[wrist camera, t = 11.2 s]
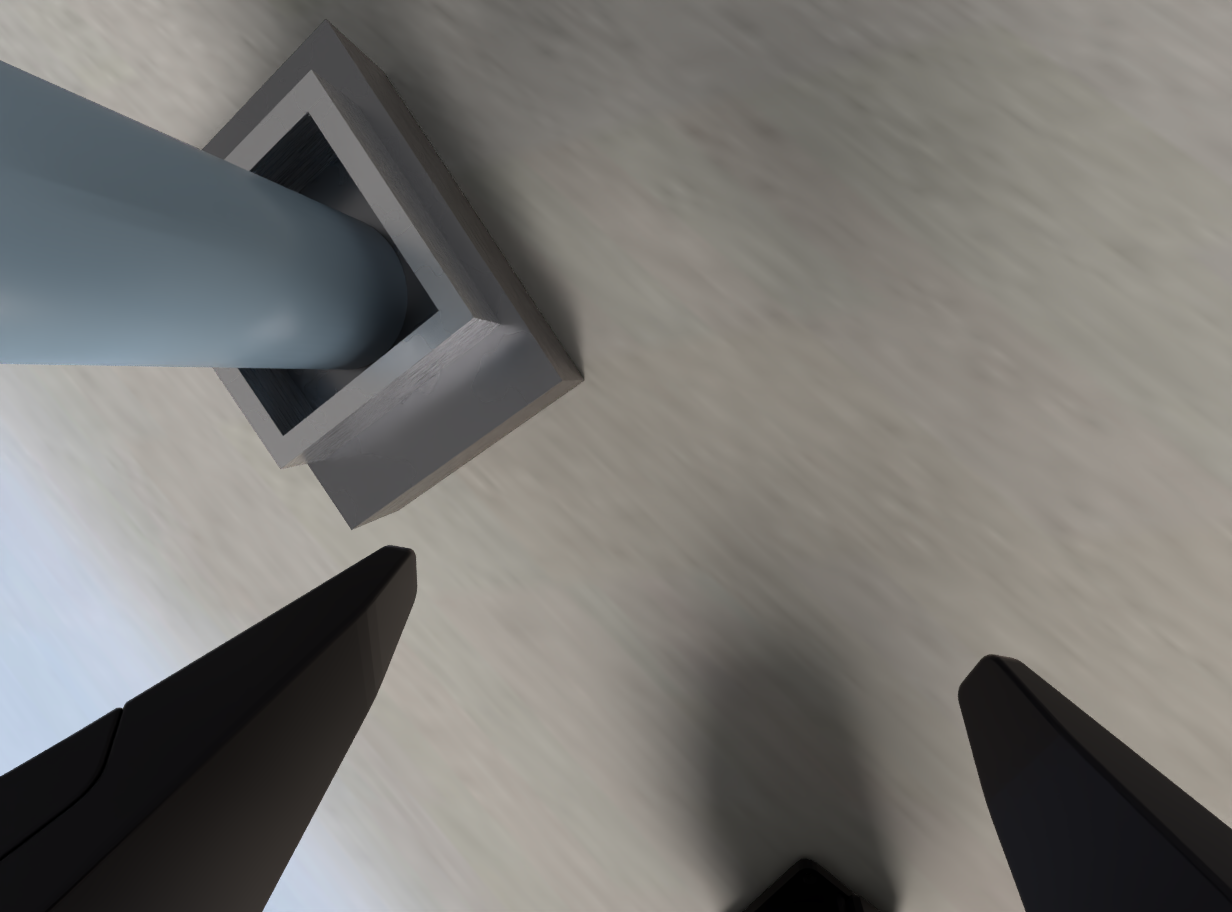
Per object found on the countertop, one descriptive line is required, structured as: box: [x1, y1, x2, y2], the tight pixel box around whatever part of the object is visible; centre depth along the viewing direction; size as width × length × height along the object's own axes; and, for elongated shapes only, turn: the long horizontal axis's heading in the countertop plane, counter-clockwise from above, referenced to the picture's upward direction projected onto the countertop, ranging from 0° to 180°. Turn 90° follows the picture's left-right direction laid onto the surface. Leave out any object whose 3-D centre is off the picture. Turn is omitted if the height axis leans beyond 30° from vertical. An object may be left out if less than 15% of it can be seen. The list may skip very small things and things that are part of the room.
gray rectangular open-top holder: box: [202, 19, 584, 530], centre depth 19 cm, size 14×10×5 cm
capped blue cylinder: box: [0, 61, 407, 370], centre depth 12 cm, size 5×5×13 cm
